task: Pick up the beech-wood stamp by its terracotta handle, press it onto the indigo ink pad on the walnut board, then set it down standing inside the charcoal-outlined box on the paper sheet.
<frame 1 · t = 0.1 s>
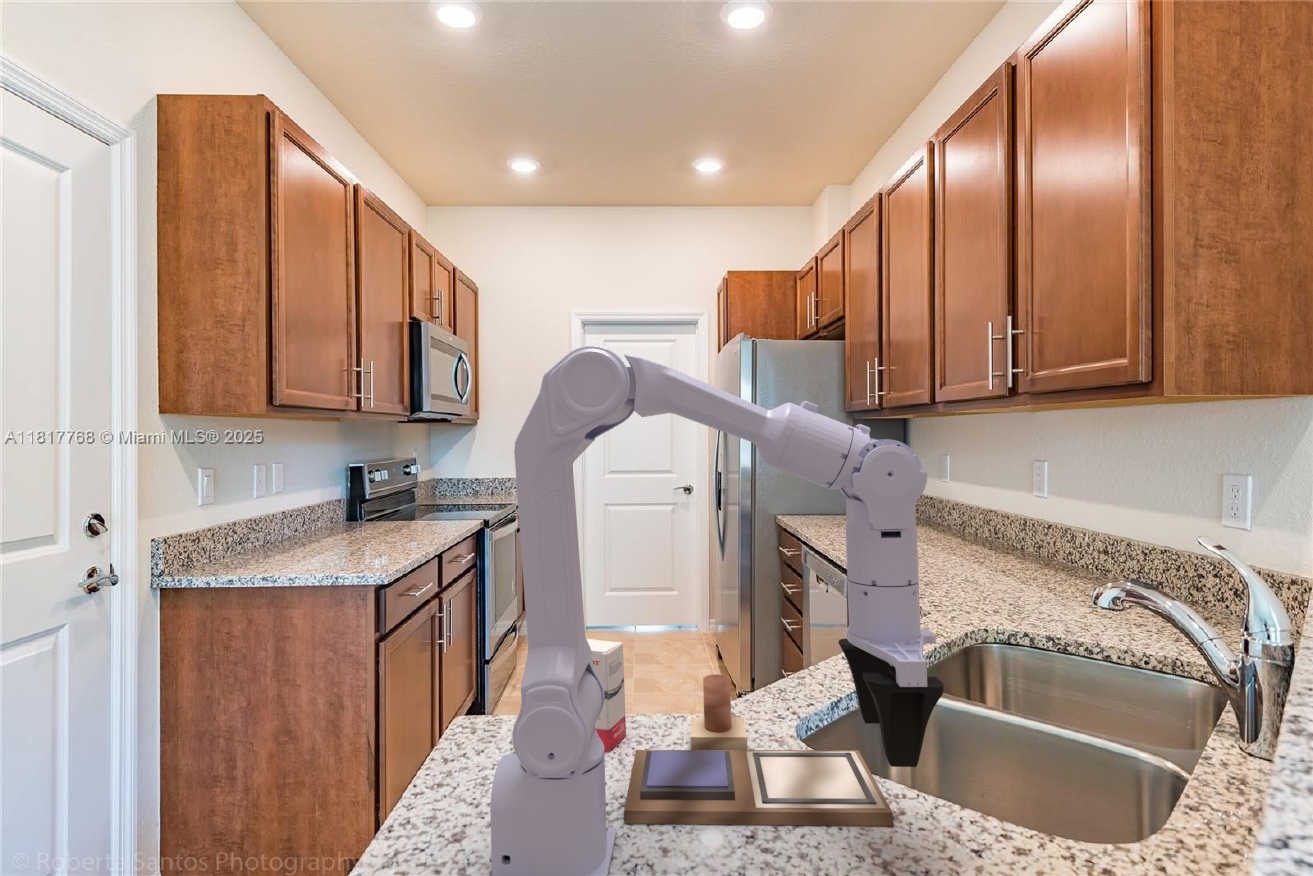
hand: (888, 742, 52), 10 cm above the worktop, fingers open, 7 cm apart
desk board: (751, 789, 64), on the worktop
stamp: (718, 747, 73), on the worktop
ink box: (588, 740, 76), on the worktop
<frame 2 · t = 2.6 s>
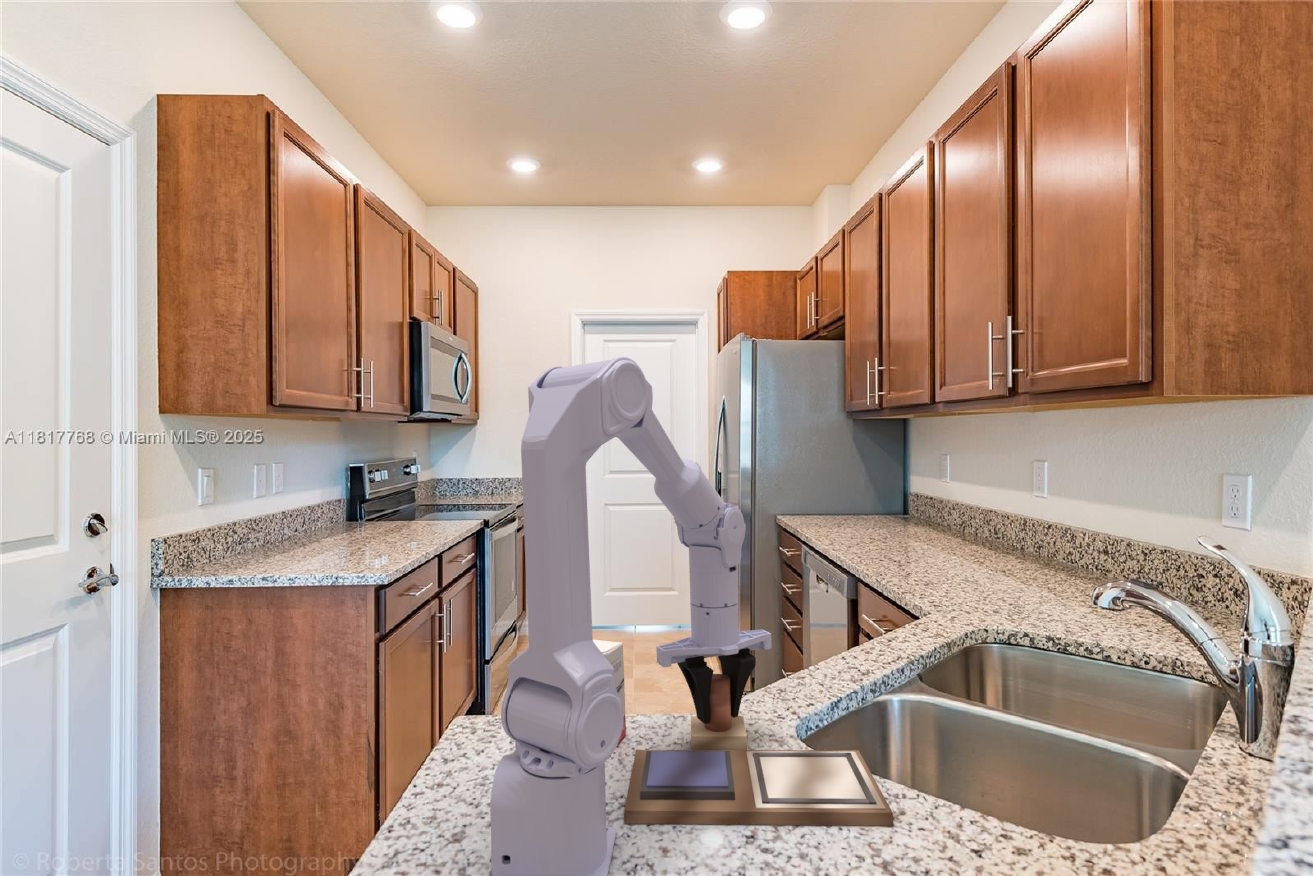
hand: (717, 717, 73), 3 cm above the worktop, fingers closed on stamp, 3 cm apart
stamp: (718, 746, 73), on the worktop, touching gripper
everything else where it was.
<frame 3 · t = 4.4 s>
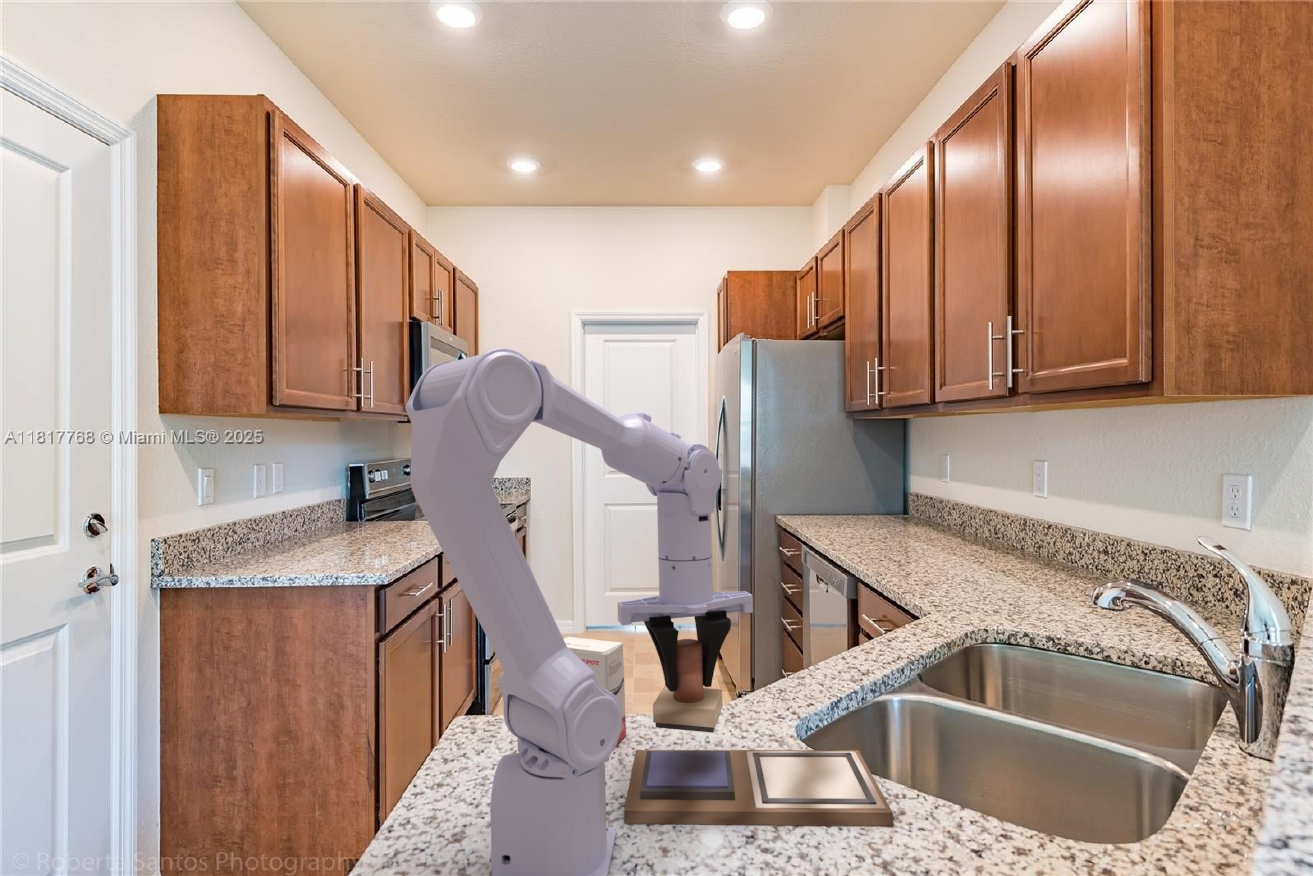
hand: (688, 686, 65), 10 cm above the worktop, fingers closed on stamp, 3 cm apart
stamp: (688, 719, 65), point 7 cm above the worktop, touching gripper
everything else where it was.
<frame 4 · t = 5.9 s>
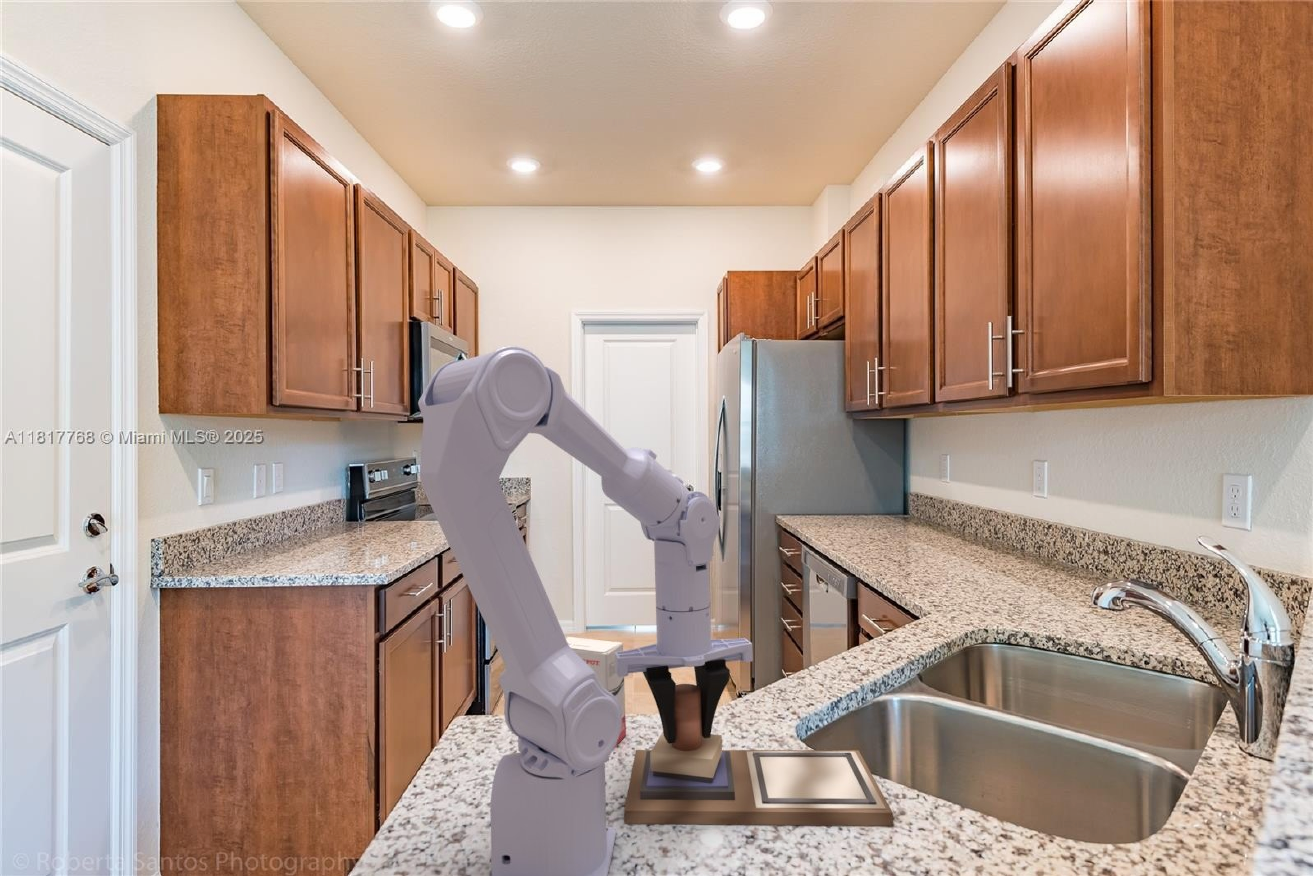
hand: (686, 736, 64), 5 cm above the worktop, fingers closed on stamp, 3 cm apart
stamp: (687, 767, 64), point 2 cm above the worktop, touching desk board, gripper
everything else where it was.
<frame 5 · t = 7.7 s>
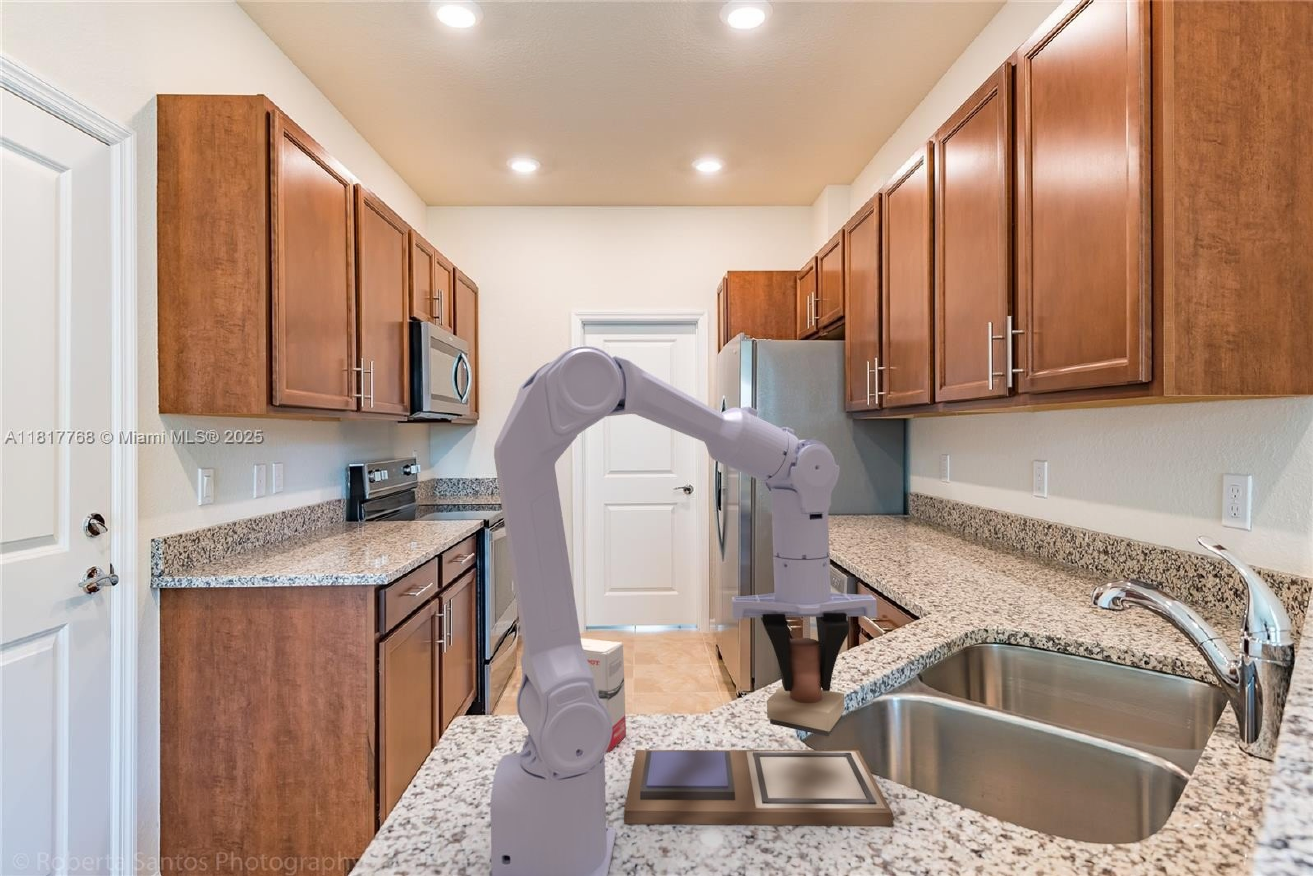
hand: (805, 687, 64), 10 cm above the worktop, fingers closed on stamp, 3 cm apart
stamp: (806, 720, 64), point 7 cm above the worktop, touching gripper
everything else where it was.
when the fingers open (6 cm above the worktop, at t = 9.2 s): stamp stays where it is, resting on desk board.
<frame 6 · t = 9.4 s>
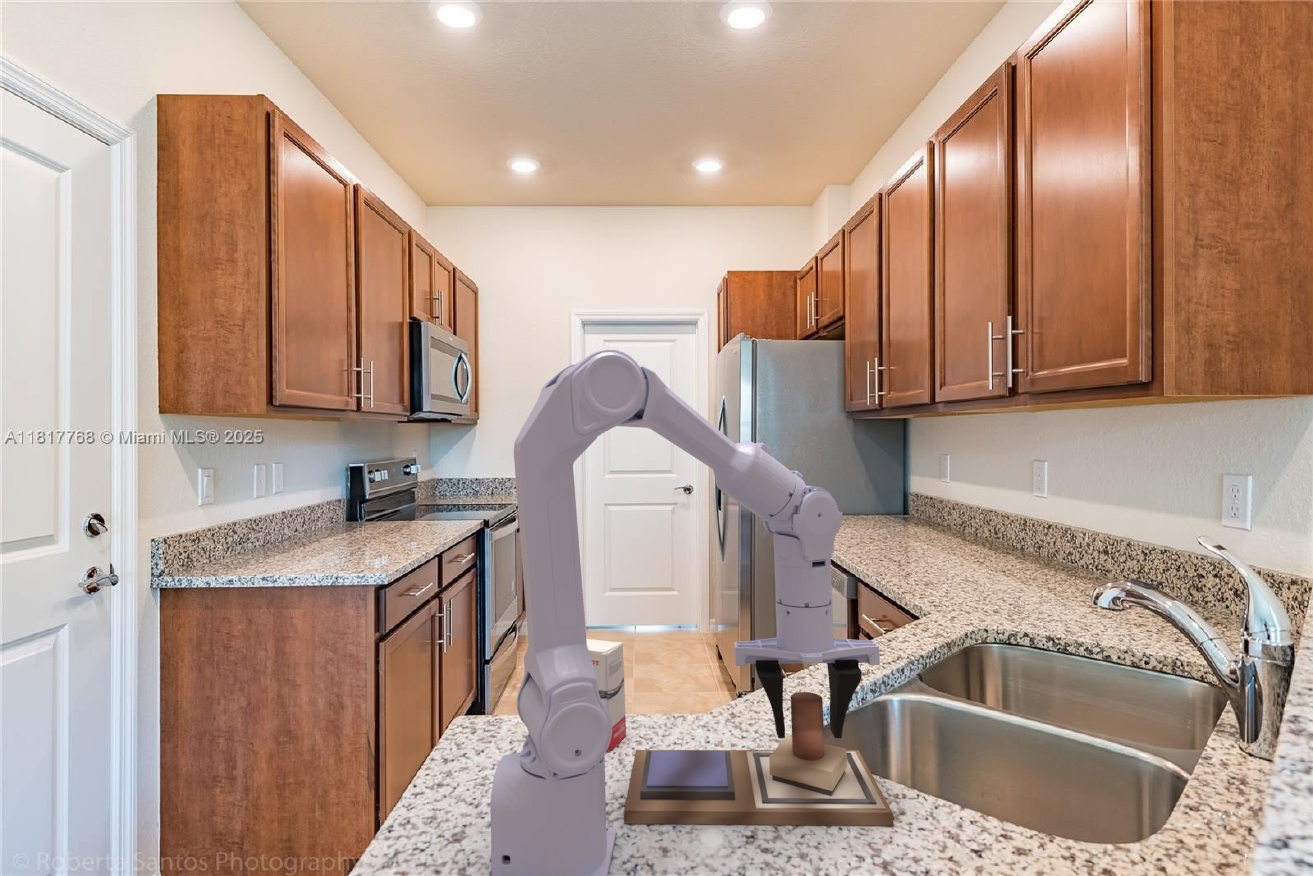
hand: (808, 734, 63), 6 cm above the worktop, fingers open, 5 cm apart
stamp: (809, 776, 64), point 1 cm above the worktop, touching desk board
everything else where it was.
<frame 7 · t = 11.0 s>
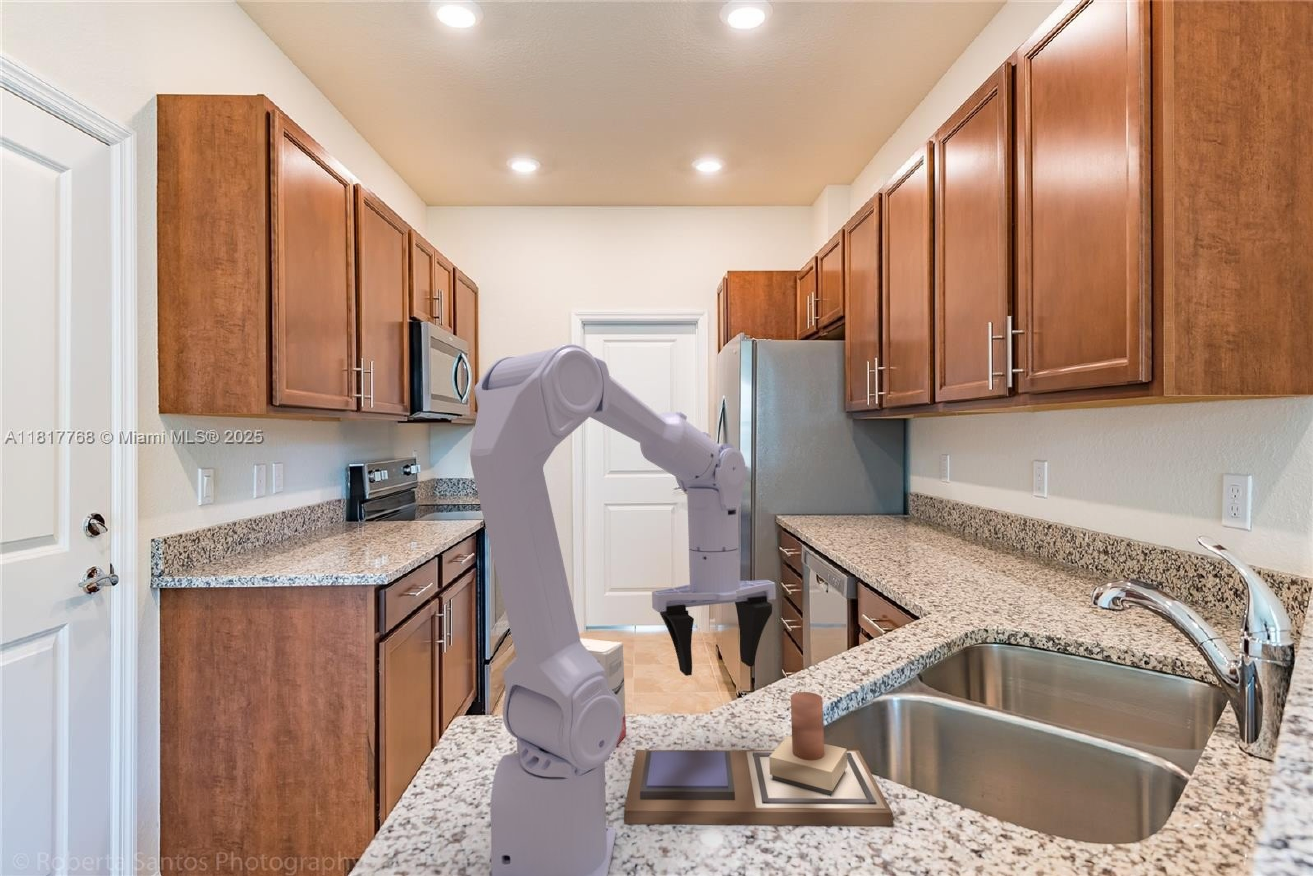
hand: (717, 668, 70), 10 cm above the worktop, fingers open, 7 cm apart
nothing on the worktop moved.
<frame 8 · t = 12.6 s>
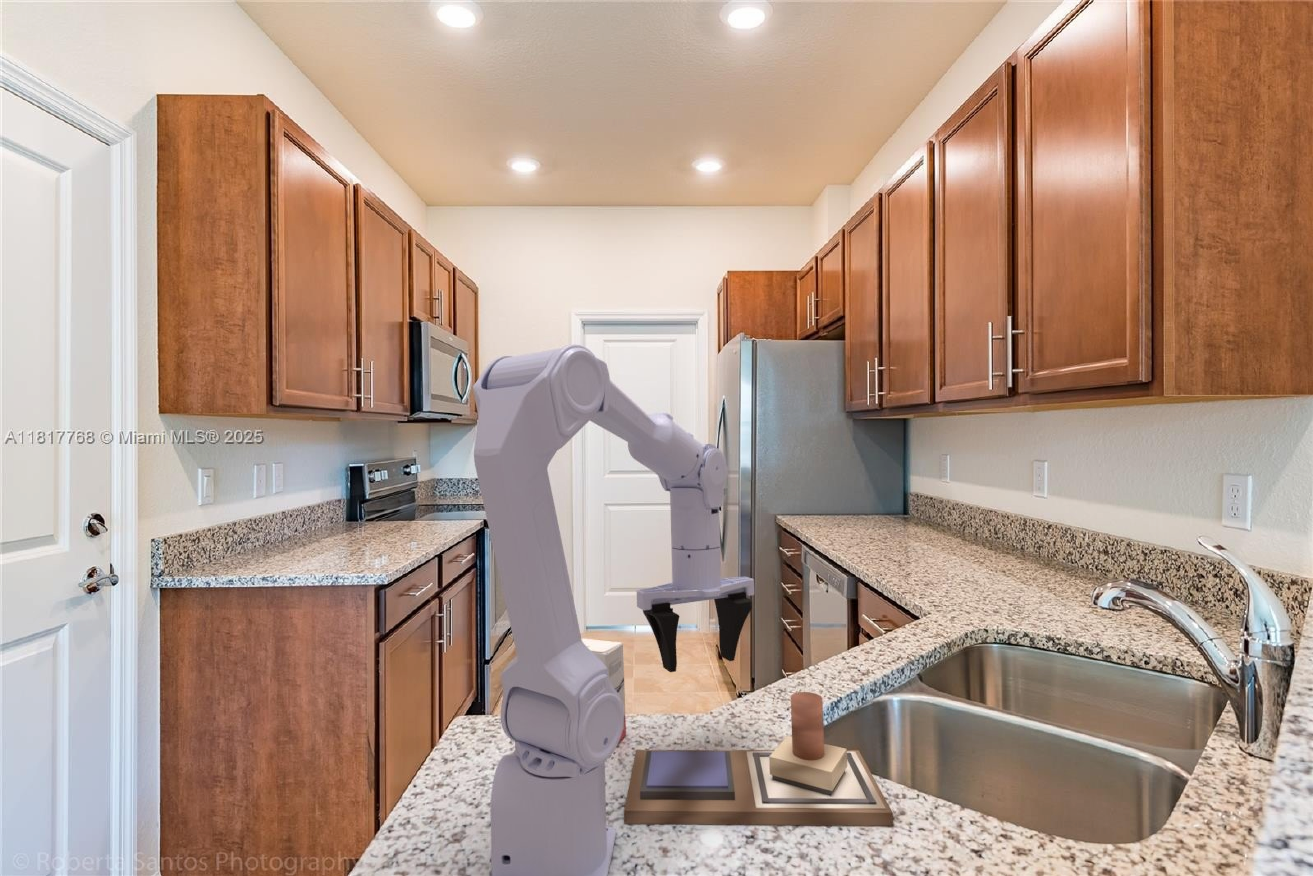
hand: (699, 663, 72), 10 cm above the worktop, fingers open, 7 cm apart
nothing on the worktop moved.
at the end: stamp 0.2 cm from the target spot on the desk board, point 1.3 cm above the desk board's base; stamp tilted 0°; the gripper is holding nothing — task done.
